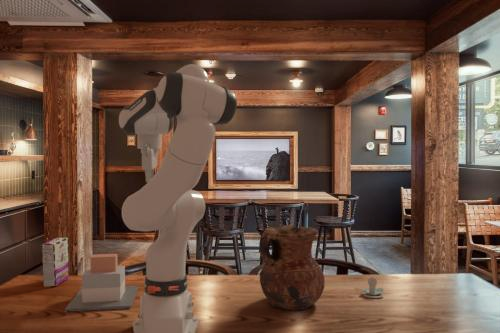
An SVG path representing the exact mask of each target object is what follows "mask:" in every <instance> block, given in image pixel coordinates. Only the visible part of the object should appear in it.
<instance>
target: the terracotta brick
mask: <svg viewBox="0 0 500 333" xmlns="http://www.w3.org/2000/svg"><path fill="white" fill-rule="evenodd" d="M90 256H91V257H89V258H90V267H91V272H111V271H116V270H117V268H118V266H119V264H118V262H119V261H118V258H119V256H118V253H99V254H97V253H95V254H92V255H90Z"/></svg>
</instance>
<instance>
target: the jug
mask: <svg viewBox="0 0 500 333" xmlns="http://www.w3.org/2000/svg"><path fill="white" fill-rule="evenodd" d="M318 233H319V230H318V229H316V228H315V227H305V226H302V225H300V226H299V227H298V226H294V225H292V224H291V225H290V224H288V225H287V224H286V225H282V226H279V227H272V226H269V227H266V228H265V229H264V230H263V232H262V234H261V236H260V240H259V244H258V245H259V253H260V256H261V257H260V258H262V261H263V266H262V268H261V270H260V273H259V283H260V288H261V290H262V292H263V294H264V297H265V298H266V299H267V300H268V301H269V303H270V304H271V305H272V306H273V307H275V308H278V309H281V310H287V311H303V310H307V309H309V308H311V306H313V305H314V304H315V303H316V302H318V301H319V299H321V297H322V295H323V293H324V288H325V282H326V281H325V278H326V277H325V275H324V272H323V269H322V267H321V266H320V265H319V263H318V262H317V261H316V260H315V258H314V257H313V255H312V248H313V243H314V240H315V237H316V236H317V235H318ZM270 247H271V248H270ZM270 249H271V252H270Z"/></svg>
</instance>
